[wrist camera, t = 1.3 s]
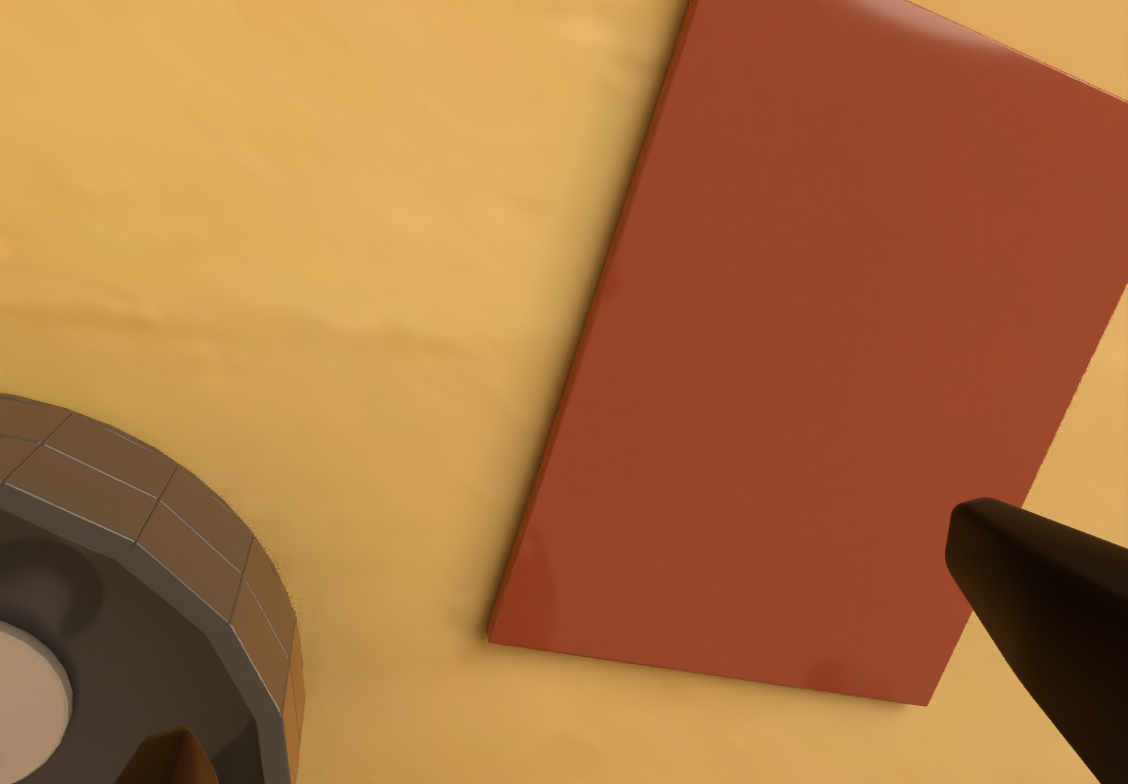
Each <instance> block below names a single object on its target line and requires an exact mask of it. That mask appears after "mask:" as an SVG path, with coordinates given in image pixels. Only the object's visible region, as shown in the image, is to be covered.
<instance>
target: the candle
mask: <svg viewBox="0 0 1128 784" xmlns="http://www.w3.org/2000/svg"><path fill="white" fill-rule="evenodd" d="M72 698H73V691H72V688H71V685H70V682H69V679H68V676H67V673H66V670H65V669H64V667H63V666H62V664H61V663H60V662H59V660H58V659H57V658H56V656H55V655H54V654H53V652H52V651H51V650H50V649H49V648H48V647H46V646H45V645H44V644H43V643H41V642H40V641H39V640H38V639H36V638H35V637H34V636H32V635H31V634H30V633H28V632H26V631H24V630H22V629H19V628H17V627H15V626H13V625H11V624H9V623H6V622H4V621H1V620H0V784H13V783H15V782H17V781H19V780H22V779H24V778H26V777H27V776H28V775H30V774H31V773H32V772H34V771H35V770H36V769H38V768H39V767H40V766H42V765H43V764H44V763H45V762H46V761H47V760H48V759H49V757H50V756H51V755H52V753H53V752H54V751H55V749H56V748H57V747H58V746H59V744H60V743H61V740H62V738H63V736H64V734H65V732H66V729H67V726H68V724H69V721H70V718H71V715H72Z"/></svg>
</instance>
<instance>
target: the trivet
mask: <svg viewBox="0 0 1128 784" xmlns="http://www.w3.org/2000/svg"><path fill="white" fill-rule="evenodd" d="M1127 284H1128V101H1126V100H1124V99H1122V98H1120V97H1117V96H1115V95H1113V94H1111V93H1109V92H1107V91H1104V90H1102V89H1100V88H1098V87H1096V86H1093V85H1091V84H1089V83H1087V82H1085V81H1082V80H1080V79H1078V78H1076V77H1074V76H1072V75H1069V74H1067V73H1065V72H1063V71H1061V70H1058V69H1056V68H1054V67H1052V66H1050V65H1047V64H1045V63H1043V62H1041V61H1039V60H1036V59H1034V58H1032V57H1030V56H1028V55H1026V54H1023V53H1021V52H1019V51H1017V50H1015V49H1012V48H1010V47H1008V46H1006V45H1004V44H1001V43H999V42H997V41H995V40H993V39H991V38H988V37H986V36H984V35H982V34H980V33H977V32H975V31H973V30H971V29H969V28H966V27H964V26H962V25H960V24H958V23H955V22H953V21H951V20H949V19H947V18H945V17H942V16H940V15H938V14H936V13H934V12H931V11H929V10H927V9H925V8H923V7H920V6H918V5H916V4H914V3H912V2H910V1H907V0H690V3H689V6H688V9H687V12H686V15H685V18H684V22H683V25H682V28H681V31H680V34H679V37H678V40H677V43H676V46H675V49H674V52H673V55H672V59H671V62H670V65H669V68H668V71H667V74H666V77H665V80H664V83H663V86H662V89H661V93H660V96H659V99H658V102H657V105H656V108H655V111H654V114H653V117H652V120H651V123H650V126H649V130H648V133H647V136H646V139H645V142H644V145H643V148H642V151H641V154H640V157H639V160H638V164H637V167H636V170H635V173H634V176H633V179H632V182H631V185H630V188H629V191H628V194H627V197H626V201H625V204H624V207H623V210H622V213H621V216H620V219H619V222H618V225H617V228H616V231H615V235H614V238H613V241H612V244H611V247H610V250H609V253H608V256H607V259H606V262H605V265H604V268H603V272H602V275H601V278H600V281H599V284H598V287H597V290H596V293H595V296H594V299H593V302H592V306H591V309H590V312H589V315H588V318H587V321H586V324H585V327H584V330H583V333H582V336H581V339H580V343H579V346H578V349H577V352H576V355H575V358H574V361H573V364H572V367H571V370H570V373H569V377H568V380H567V383H566V386H565V389H564V392H563V395H562V398H561V401H560V404H559V407H558V410H557V414H556V417H555V420H554V423H553V426H552V429H551V432H550V435H549V438H548V441H547V444H546V448H545V451H544V454H543V457H542V460H541V463H540V466H539V469H538V472H537V475H536V478H535V481H534V485H533V488H532V491H531V494H530V497H529V500H528V503H527V506H526V509H525V512H524V515H523V519H522V522H521V525H520V528H519V531H518V534H517V537H516V540H515V543H514V546H513V549H512V552H511V556H510V559H509V562H508V565H507V568H506V571H505V574H504V577H503V580H502V583H501V586H500V590H499V593H498V596H497V599H496V602H495V605H494V608H493V611H492V614H491V617H490V620H489V623H488V627H487V630H486V634H487V638H488V642H490V643H494V644H501V645H508V646H515V647H522V648H529V649H536V650H542V651H549V652H556V653H563V654H570V655H577V656H583V657H590V658H597V659H604V660H611V661H618V662H624V663H631V664H638V665H645V666H652V667H659V668H666V669H672V670H679V671H686V672H693V673H700V674H707V675H713V676H720V677H727V678H734V679H741V680H748V681H754V682H761V683H768V684H775V685H782V686H789V687H796V688H802V689H809V690H816V691H823V692H830V693H837V694H843V695H850V696H857V697H864V698H871V699H878V700H884V701H891V702H898V703H905V704H912V705H919V706H928V704H929V702H930V700H931V698H932V695H933V693H934V691H935V689H936V687H937V685H938V683H939V681H940V679H941V676H942V674H943V672H944V670H945V668H946V666H947V664H948V662H949V660H950V657H951V655H952V653H953V651H954V649H955V647H956V645H957V643H958V641H959V639H960V636H961V634H962V632H963V630H964V628H965V626H966V624H967V622H968V620H969V617H970V615H971V613H972V611H973V609H972V607H971V606H970V604H969V602H968V601H967V599H966V598H965V596H964V595H963V593H962V592H961V590H960V589H959V587H958V585H957V584H956V582H955V581H954V579H953V578H952V576H951V574H950V573H949V570H948V568H947V565H946V562H945V548H946V541H947V535H948V529H949V523H950V517H951V512H952V510H953V509H954V507H955V506H956V505H957V504H959V503H963V502H966V501H969V500H973V499H976V498H980V497H991V498H994V499H997V500H1000V501H1003V502H1005V503H1008V504H1010V505H1013V506H1016V507H1018V508H1022V506H1023V503H1024V501H1025V499H1026V497H1027V495H1028V493H1029V491H1030V489H1031V487H1032V484H1033V482H1034V480H1035V478H1036V476H1037V474H1038V472H1039V470H1040V468H1041V465H1042V463H1043V461H1044V459H1045V457H1046V455H1047V453H1048V451H1049V449H1050V446H1051V444H1052V442H1053V440H1054V438H1055V436H1056V434H1057V432H1058V430H1059V427H1060V425H1061V423H1062V421H1063V419H1064V417H1065V415H1066V413H1067V411H1068V409H1069V406H1070V404H1071V402H1072V400H1073V398H1074V396H1075V394H1076V392H1077V390H1078V387H1079V385H1080V383H1081V381H1082V379H1083V377H1084V375H1085V373H1086V371H1087V368H1088V366H1089V364H1090V362H1091V360H1092V358H1093V356H1094V354H1095V352H1096V349H1097V347H1098V345H1099V343H1100V341H1101V339H1102V337H1103V335H1104V333H1105V330H1106V328H1107V326H1108V324H1109V322H1110V320H1111V318H1112V316H1113V314H1114V311H1115V309H1116V307H1117V305H1118V303H1119V301H1120V299H1121V297H1122V295H1123V292H1124V290H1125V288H1126V286H1127Z"/></svg>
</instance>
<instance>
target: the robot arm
mask: <svg viewBox="0 0 1128 784" xmlns="http://www.w3.org/2000/svg"><path fill="white" fill-rule="evenodd" d="M945 562H946V565H947V568H948V570H949V573H950V574H951V576H952V578H953V579H954V581H955V582H956V584H957V585H958V587H959V589H960V590H961V592H962V593H963V595H964V596H965V598H966V599H967V601H968V602H969V604H970V606H971V607H972V609H973V610H974V612H975V613H976V615H977V616H978V618H979V620H980V621H981V623H982V624H983V626H984V627H985V629H986V630H987V632H988V634H989V635H990V637H991V638H992V640H993V641H994V643H995V644H996V646H997V647H998V649H999V651H1000V652H1001V654H1002V655H1003V657H1004V658H1005V660H1006V661H1007V663H1008V664H1009V666H1010V667H1011V669H1012V670H1013V672H1014V673H1015V675H1016V676H1017V677H1018V679H1019V680H1020V682H1021V683H1022V684H1023V686H1024V687H1025V688H1026V690H1027V691H1028V692H1029V694H1030V695H1031V696H1032V698H1033V699H1034V700H1035V701H1036V703H1037V704H1038V705H1039V706H1040V708H1041V709H1042V710H1043V711H1044V713H1045V714H1046V715H1047V716H1048V718H1049V719H1050V720H1051V721H1052V723H1053V724H1054V725H1055V727H1056V728H1057V729H1058V730H1059V732H1060V733H1061V734H1062V735H1063V737H1064V738H1065V739H1066V740H1067V742H1068V743H1069V744H1070V745H1071V747H1072V748H1073V749H1074V750H1075V752H1076V753H1077V754H1078V756H1079V757H1080V758H1081V759H1082V761H1083V762H1084V763H1085V764H1086V766H1087V767H1088V768H1089V769H1090V771H1091V772H1092V773H1093V774H1094V776H1095V777H1096V778H1097V779H1098V781H1099V782H1100V783H1101V784H1128V549H1127V548H1124V547H1122V546H1119V545H1116V544H1114V543H1111V542H1108V541H1106V540H1103V539H1100V538H1098V537H1095V536H1092V535H1090V534H1087V533H1085V532H1082V531H1079V530H1077V529H1074V528H1071V527H1069V526H1066V525H1063V524H1061V523H1058V522H1055V521H1053V520H1050V519H1047V518H1045V517H1042V516H1040V515H1037V514H1034V513H1032V512H1029V511H1026V510H1024V509H1021V508H1018V507H1016V506H1013V505H1010V504H1008V503H1005V502H1003V501H1000V500H997V499H994V498H991V497H980V498H976V499H973V500H969V501H966V502H963V503H959V504H957V505H956V506H955V507H954V509H953V510H952V512H951V517H950V523H949V529H948V535H947V541H946V548H945ZM113 784H219V783H218V779H217V775H216V772H215V770H214V768H213V766H212V765H211V763H210V761H209V759H208V757H207V756H206V754H205V752H204V750H203V748H202V747H201V745H200V743H199V741H198V739H197V738H196V736H195V734H194V732H193V731H192V730H191V729H190V728H189V727H186V726H180V727H176V728H173V729H169V730H166V731H162V732H159V733H155V734H152V735H150V736H148V737H147V738H145V739H144V740H143V741H142V742H141V744H140V745H139V746H138V748H137V749H136V751H135V752H134V754H133V755H132V757H131V758H130V760H129V761H128V763H127V764H126V765H125V767H124V768H123V770H122V771H121V773H120V774H119V776H118V777H117V779H116V780H115V782H114V783H113Z"/></svg>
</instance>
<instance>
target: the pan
mask: <svg viewBox="0 0 1128 784" xmlns="http://www.w3.org/2000/svg"><path fill="white" fill-rule="evenodd" d="M0 620H1V621H4V622H6V623H9V624H11V625H13V626H15V627H17V628H19V629H22V630H24V631H26V632H28V633H30V634H31V635H32V636H34V637H35V638H36V639H38V640H39V641H40V642H41V643H43V644H44V645H45V646H46V647H48V648H49V649H50V650H51V651H52V652H53V654H54V655H55V656H56V658H57V659H58V660H59V662H60V663H61V664H62V666H63V667H64V669H65V670H66V673H67V676H68V679H69V682H70V685H71V688H72V691H73V698H72V715H71V718H70V721H69V724H68V726H67V729H66V732H65V734H64V736H63V738H62V740H61V743H60V744H59V746H58V747H57V748H56V749H55V751H54V752H53V753H52V755H51V756H50V757H49V759H48V760H47V761H46V762H45V763H44V764H43V765H42V766H40V767H39V768H38V769H36V770H35V771H34V772H32V773H31V774H30V775H28V776H27V777H26V778H24V779H22V780H19V781H17V782H15V783H13V784H113V783H114V782H115V780H116V779H117V777H118V776H119V774H120V773H121V771H122V770H123V768H124V767H125V765H126V764H127V763H128V761H129V760H130V758H131V757H132V755H133V754H134V752H135V751H136V749H137V748H138V746H139V745H140V744H141V742H142V741H143V740H144V739H145V738H147V737H148V736H150V735H152V734H155V733H159V732H162V731H166V730H169V729H173V728H176V727H180V726H186V727H189V728H190V729H191V730H192V731H193V732H194V734H195V736H196V738H197V739H198V741H199V743H200V745H201V747H202V748H203V750H204V752H205V754H206V756H207V757H208V759H209V761H210V763H211V765H212V766H213V768H214V770H215V772H216V775H217V779H218V783H219V784H296V780H297V771H298V761H299V751H300V742H301V733H302V723H303V714H304V704H305V689H304V680H303V661H302V653H301V646H300V638H299V630H298V627H297V619H296V616H295V612H294V610H293V608H292V606H291V603H290V600H289V596H288V594H287V592H286V590H285V588H284V586H283V584H282V582H281V579H280V577H279V575H278V573H277V571H276V569H275V567H274V565H273V563H272V561H271V560H270V558H269V557H268V555H267V554H266V552H265V551H264V549H263V548H262V546H261V545H260V543H259V542H258V540H257V539H256V537H255V536H254V534H253V533H252V531H251V530H250V529H249V528H248V527H247V526H246V525H245V524H244V522H243V521H242V520H241V519H240V518H239V517H238V516H237V514H236V513H235V512H234V511H233V510H232V509H231V508H230V507H229V505H228V504H227V503H226V502H225V501H224V500H223V499H222V498H220V497H219V496H218V495H217V494H216V493H215V492H213V491H212V490H211V489H210V488H209V487H208V486H207V485H205V484H204V483H203V482H202V481H201V480H200V479H199V478H197V477H196V476H195V475H194V474H193V473H191V472H190V471H188V470H187V469H185V468H184V467H182V466H181V465H179V464H178V463H176V462H175V461H173V460H172V459H171V458H169V457H168V456H166V455H165V454H163V453H162V452H160V451H159V450H157V449H156V448H154V447H152V446H150V445H148V444H146V443H144V442H142V441H140V440H138V439H136V438H134V437H132V436H131V435H129V434H127V433H125V432H123V431H121V430H119V429H117V428H115V427H113V426H111V425H108V424H105V423H103V422H100V421H97V420H95V419H92V418H89V417H87V416H84V415H82V414H79V413H76V412H74V411H71V410H68V409H66V408H62V407H58V406H54V405H50V404H46V403H42V402H39V401H35V400H31V399H27V398H23V397H19V396H15V395H9V394H2V393H0Z"/></svg>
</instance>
